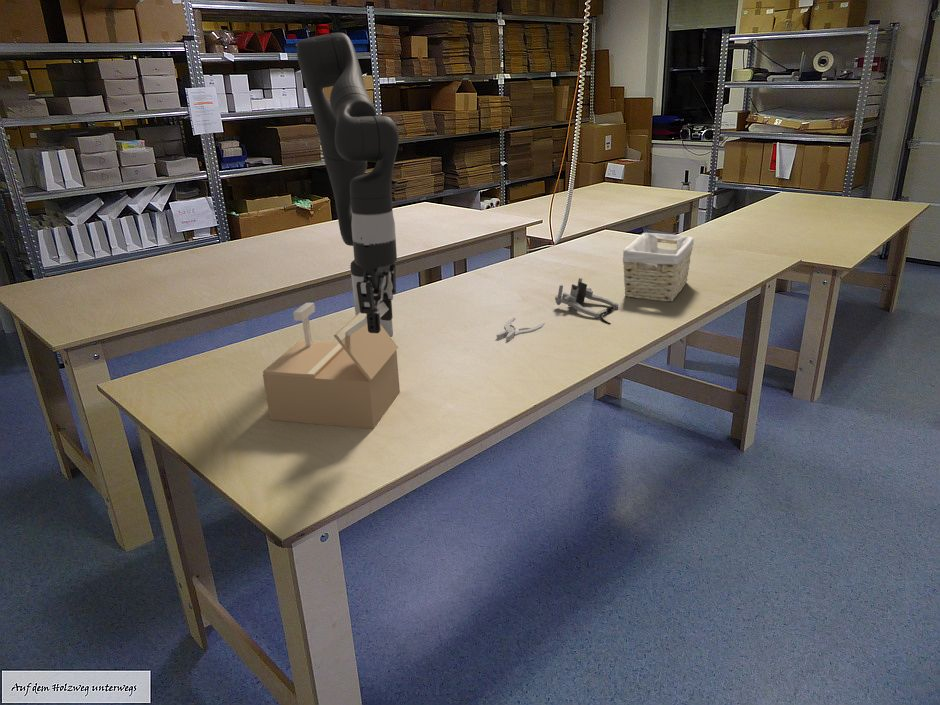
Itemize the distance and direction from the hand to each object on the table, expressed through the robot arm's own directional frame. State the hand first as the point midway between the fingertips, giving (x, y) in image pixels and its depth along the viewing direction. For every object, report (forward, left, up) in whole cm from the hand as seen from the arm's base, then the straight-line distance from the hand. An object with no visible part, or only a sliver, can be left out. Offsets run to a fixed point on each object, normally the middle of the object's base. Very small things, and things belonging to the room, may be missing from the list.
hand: (380, 325), depth 123 cm
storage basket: (-92, +54, -20) cm, 108 cm away
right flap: (-4, -5, -5) cm, 9 cm away
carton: (-5, -13, -20) cm, 24 cm away
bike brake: (-71, +36, -21) cm, 82 cm away
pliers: (-52, +17, -21) cm, 59 cm away
